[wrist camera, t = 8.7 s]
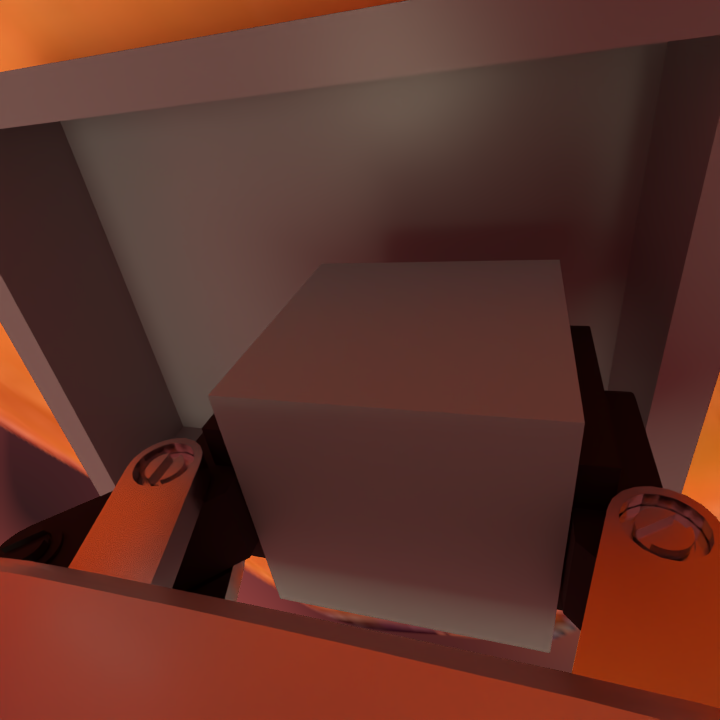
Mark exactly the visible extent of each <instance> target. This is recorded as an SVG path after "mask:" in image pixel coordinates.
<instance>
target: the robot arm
mask: <svg viewBox="0 0 720 720" xmlns="http://www.w3.org/2000/svg"><path fill="white" fill-rule="evenodd" d="M570 330H571V337H572V343H573V350H574V356H575V363H576V369H577V376H578V382H579V388H580V395H581V401H582V408H583V414H584V421H585V425H584V432H583V438H582V445H581V452H580V458H579V465H578V471H577V478H576V485H575V491H574V498H573V504H572V511H571V518H570V524H569V531H568V538H567V544H566V551H565V557H564V564H563V571H562V577H561V584H560V590H559V597H558V604H557V609H558V610H563V613H564V614H565V615H566V616H567V617H568V618H569V619H570V620H571V621H572V622H573V623H574V624H575V625H576V626H577V627H578V628H579V629H580V630H581V633H580V637H579V642H578V647H577V651H576V656H575V661H574V665H573V670H572V673H568V672H563V671H559V670H554V669H550V668H545V667H540V666H535V665H531V664H526V663H522V662H517V661H513V660H508V659H503V658H498V657H494V656H489V655H484V654H480V653H475V652H471V651H466V650H461V649H457V648H452V647H448V646H443V645H438V644H434V643H429V642H424V641H420V640H415V639H410V638H406V637H401V636H397V635H392V634H387V633H382V632H378V631H373V630H368V629H364V628H359V627H354V626H349V625H345V624H340V623H335V622H330V621H326V620H321V619H316V618H311V617H307V616H302V615H296V614H292V613H287V612H283V611H278V610H273V609H269V608H263V607H259V606H254V605H249V604H245V603H240V602H236V600H237V597H238V592H239V588H240V584H241V580H242V576H243V571H244V563H245V560H246V559H248V558H250V556H251V555H252V556H258V557H263V558H266V557H265V554H264V551H263V549H262V546H261V543H260V540H259V537H258V535H257V532H256V529H255V526H254V523H253V521H252V518H251V515H250V512H249V509H248V507H247V504H246V501H245V498H244V496H243V493H242V490H241V487H240V484H239V482H238V479H237V476H236V473H235V470H234V468H233V465H232V462H231V459H230V456H229V454H228V451H227V448H226V445H225V443H224V440H223V437H222V434H221V431H220V429H219V426H218V423H217V420H216V417H215V415H214V414H213V415H212V416H211V417H210V419H209V420H208V421H207V422H206V423H205V425H204V426H203V427H202V428H201V429H202V431H203V433H202V434H201V435H200V437H199V438H198V439H197V440H196V441H193V440H190V439H187V438H175V439H169V440H165V441H162V442H159V443H157V444H154V445H152V446H150V447H148V448H147V449H145V450H143V451H142V452H141V453H139V454H138V455H137V456H136V457H135V458H133V460H132V461H131V462H130V464H129V465H128V466H127V468H126V469H125V471H124V473H123V474H122V476H121V478H120V480H119V481H118V483H117V485H116V486H115V488H114V490H113V491H111V492H109V493H107V494H104V495H102V496H100V497H97V498H95V499H93V500H90V501H88V502H86V503H83V504H81V505H78V506H76V507H74V508H71V509H69V510H67V511H64V512H62V513H60V514H57V515H55V516H53V517H51V518H48V519H46V520H43V521H41V522H39V523H36V524H34V525H32V526H30V527H28V528H26V529H24V530H22V531H20V532H18V533H17V534H15V535H14V536H12V537H11V538H10V539H8V540H7V541H6V542H4V543H3V544H2V545H1V546H0V720H720V522H719V521H718V519H717V518H716V517H715V516H714V515H713V514H712V513H711V512H710V511H709V510H708V509H706V508H705V507H704V506H703V505H702V504H700V503H698V502H696V501H695V500H693V499H691V498H689V497H688V496H686V495H683V494H680V493H678V492H675V491H672V490H669V489H665V488H663V486H662V483H661V480H660V476H659V473H658V470H657V466H656V463H655V460H654V457H653V453H652V450H651V447H650V443H649V440H648V437H647V434H646V430H645V427H644V424H643V420H642V417H641V414H640V411H639V407H638V404H637V401H636V398H635V395H634V393H632V392H626V391H607V390H604V386H603V382H602V377H601V373H600V368H599V364H598V359H597V355H596V351H595V346H594V342H593V337H592V333H591V328H590V326H573V325H570Z"/></svg>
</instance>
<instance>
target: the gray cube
mask: <svg viewBox="0 0 720 720" xmlns="http://www.w3.org/2000/svg"><path fill="white" fill-rule="evenodd" d="M208 398H209V401H210V403H211V406H212V409H213V412H214V415H215V417H216V420H217V423H218V426H219V429H220V431H221V434H222V437H223V440H224V443H225V445H226V448H227V451H228V454H229V456H230V459H231V462H232V465H233V468H234V470H235V473H236V476H237V479H238V482H239V484H240V487H241V490H242V493H243V496H244V498H245V501H246V504H247V507H248V509H249V512H250V515H251V518H252V521H253V523H254V526H255V529H256V532H257V535H258V537H259V540H260V543H261V546H262V549H263V551H264V554H265V557H266V560H267V563H268V565H269V568H270V571H271V574H272V576H273V579H274V582H275V585H276V588H277V590H278V593H279V596H280V598H281V599H287V600H291V601H296V602H301V603H306V604H311V605H316V606H321V607H326V608H331V609H336V610H341V611H345V612H350V613H355V614H360V615H365V616H370V617H375V618H380V619H385V620H390V621H395V622H400V623H405V624H410V625H415V626H420V627H425V628H430V629H434V630H439V631H444V632H449V633H454V634H459V635H464V636H469V637H474V638H479V639H484V640H489V641H494V642H499V643H504V644H509V645H514V646H519V647H524V648H528V649H534V650H539V651H543V652H549V653H550V650H551V643H552V637H553V630H554V624H555V617H556V610H557V604H558V597H559V590H560V584H561V577H562V571H563V564H564V557H565V551H566V544H567V538H568V531H569V524H570V518H571V511H572V504H573V498H574V491H575V485H576V478H577V471H578V465H579V458H580V452H581V445H582V438H583V432H584V425H585V421H584V414H583V408H582V401H581V395H580V388H579V382H578V376H577V369H576V363H575V356H574V350H573V343H572V337H571V330H570V324H569V317H568V311H567V305H566V298H565V292H564V285H563V279H562V272H561V266H560V260H504V261H447V262H389V263H331V264H321V265H320V266H319V268H318V269H317V270H316V271H315V272H314V273H313V274H312V276H311V277H310V278H309V279H308V280H307V281H306V283H305V284H304V285H303V286H302V287H301V288H300V290H299V291H298V292H297V293H296V294H295V295H294V296H293V298H292V299H291V300H290V301H289V302H288V303H287V305H286V306H285V307H284V308H283V309H282V310H281V311H280V313H279V314H278V315H277V316H276V317H275V318H274V320H273V321H272V322H271V323H270V324H269V325H268V326H267V328H266V329H265V330H264V331H263V332H262V333H261V335H260V336H259V337H258V338H257V339H256V340H255V342H254V343H253V344H252V345H251V346H250V347H249V348H248V350H247V351H246V352H245V353H244V354H243V355H242V357H241V358H240V359H239V360H238V361H237V362H236V363H235V365H234V366H233V367H232V368H231V369H230V370H229V372H228V373H227V374H226V375H225V376H224V377H223V378H222V380H221V381H220V382H219V383H218V384H217V385H216V387H215V388H214V389H213V390H212V391H211V392H210V393H209V395H208Z"/></svg>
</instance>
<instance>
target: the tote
mask: <svg viewBox="0 0 720 720" xmlns="http://www.w3.org/2000/svg"><path fill="white" fill-rule="evenodd" d="M504 260H560V266H561V272H562V279H563V285H564V292H565V298H566V305H567V311H568V317H569V324H570V325H573V326H590V328H591V333H592V337H593V342H594V346H595V351H596V355H597V359H598V364H599V368H600V373H601V377H602V382H603V386H604V390H607V391H626V392H632V393H634V395H635V398H636V401H637V404H638V407H639V411H640V414H641V417H642V420H643V424H644V427H645V430H646V434H647V437H648V440H649V443H650V447H651V450H652V453H653V457H654V460H655V463H656V466H657V470H658V473H659V476H660V480H661V483H662V486H663V488H665V489H669V490H672V491H675V492H678V493H680V494H681V493H682V490H683V486H684V483H685V480H686V477H687V474H688V470H689V467H690V464H691V461H692V458H693V454H694V451H695V448H696V445H697V442H698V438H699V435H700V432H701V429H702V426H703V422H704V419H705V416H706V413H707V410H708V407H709V403H710V400H711V397H712V394H713V391H714V387H715V384H716V381H717V378H718V375H719V371H720V0H407V1H402V2H396V3H390V4H385V5H379V6H373V7H368V8H362V9H356V10H351V11H345V12H339V13H334V14H328V15H322V16H316V17H311V18H305V19H299V20H294V21H288V22H282V23H277V24H271V25H265V26H260V27H254V28H248V29H243V30H237V31H231V32H226V33H220V34H214V35H209V36H203V37H197V38H192V39H186V40H180V41H175V42H169V43H163V44H158V45H152V46H146V47H141V48H135V49H129V50H124V51H118V52H112V53H107V54H101V55H95V56H90V57H84V58H78V59H73V60H67V61H61V62H56V63H50V64H44V65H39V66H33V67H27V68H22V69H16V70H10V71H5V72H0V322H1V324H2V326H3V327H4V329H5V331H6V333H7V334H8V336H9V338H10V340H11V341H12V343H13V345H14V347H15V348H16V350H17V352H18V354H19V355H20V357H21V359H22V360H23V362H24V364H25V366H26V367H27V369H28V371H29V373H30V374H31V376H32V378H33V380H34V381H35V383H36V385H37V387H38V388H39V390H40V392H41V394H42V395H43V397H44V399H45V401H46V402H47V404H48V406H49V408H50V409H51V411H52V413H53V415H54V416H55V418H56V420H57V422H58V423H59V425H60V427H61V429H62V430H63V432H64V434H65V435H66V437H67V439H68V441H69V442H70V444H71V446H72V448H73V449H74V451H75V453H76V455H77V456H78V458H79V460H80V462H81V463H82V465H83V467H84V469H85V470H86V472H87V474H88V476H89V477H90V479H91V481H92V483H93V484H94V486H95V488H96V490H97V491H98V493H99V495H100V496H102V495H104V494H107V493H109V492H111V491H113V490H114V488H115V486H116V485H117V483H118V481H119V480H120V478H121V476H122V474H123V473H124V471H125V469H126V468H127V466H128V465H129V464H130V462H131V461H132V460H133V458H135V457H136V456H137V455H138V454H139V453H141V452H142V451H143V450H145V449H147V448H148V447H150V446H152V445H154V444H157V443H159V442H162V441H165V440H169V439H175V438H187V439H190V440H193V441H196V440H197V439H198V438H199V437H200V435H201V434H202V433H203V431H202V429H201V428H202V427H203V426H204V425H205V423H206V422H207V421H208V420H209V419H210V417H211V416H212V415H213V414H214V412H213V409H212V406H211V403H210V401H209V398H208V395H209V393H210V392H211V391H212V390H213V389H214V388H215V387H216V385H217V384H218V383H219V382H220V381H221V380H222V378H223V377H224V376H225V375H226V374H227V373H228V372H229V370H230V369H231V368H232V367H233V366H234V365H235V363H236V362H237V361H238V360H239V359H240V358H241V357H242V355H243V354H244V353H245V352H246V351H247V350H248V348H249V347H250V346H251V345H252V344H253V343H254V342H255V340H256V339H257V338H258V337H259V336H260V335H261V333H262V332H263V331H264V330H265V329H266V328H267V326H268V325H269V324H270V323H271V322H272V321H273V320H274V318H275V317H276V316H277V315H278V314H279V313H280V311H281V310H282V309H283V308H284V307H285V306H286V305H287V303H288V302H289V301H290V300H291V299H292V298H293V296H294V295H295V294H296V293H297V292H298V291H299V290H300V288H301V287H302V286H303V285H304V284H305V283H306V281H307V280H308V279H309V278H310V277H311V276H312V274H313V273H314V272H315V271H316V270H317V269H318V268H319V266H320V265H321V264H331V263H389V262H447V261H504Z"/></svg>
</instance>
